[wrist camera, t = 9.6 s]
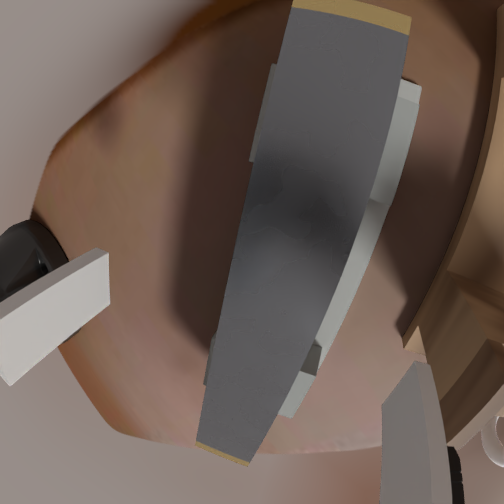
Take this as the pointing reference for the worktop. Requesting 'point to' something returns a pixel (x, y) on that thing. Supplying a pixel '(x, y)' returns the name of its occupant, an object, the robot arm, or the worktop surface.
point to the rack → (471, 292)
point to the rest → (364, 240)
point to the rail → (300, 209)
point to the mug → (492, 442)
